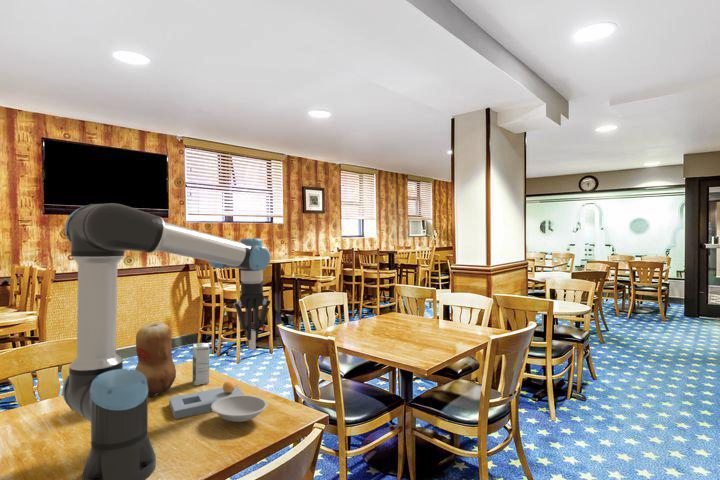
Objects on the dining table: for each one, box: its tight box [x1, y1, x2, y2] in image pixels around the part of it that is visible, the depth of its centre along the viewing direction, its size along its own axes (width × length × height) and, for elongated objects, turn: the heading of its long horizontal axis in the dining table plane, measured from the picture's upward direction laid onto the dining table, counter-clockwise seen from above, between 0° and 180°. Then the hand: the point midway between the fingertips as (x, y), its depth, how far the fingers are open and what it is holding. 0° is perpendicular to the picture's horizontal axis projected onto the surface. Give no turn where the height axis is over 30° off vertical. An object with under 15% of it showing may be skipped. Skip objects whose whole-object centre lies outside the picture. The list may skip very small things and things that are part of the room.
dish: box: [211, 394, 268, 423], centre depth 125 cm, size 18×14×5 cm
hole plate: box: [168, 384, 245, 420], centre depth 137 cm, size 12×22×2 cm, turn 122°
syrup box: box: [192, 342, 210, 387], centre depth 157 cm, size 6×6×14 cm
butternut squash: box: [134, 322, 177, 396], centre depth 145 cm, size 14×13×25 cm
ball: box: [222, 380, 236, 393], centre depth 141 cm, size 4×4×4 cm
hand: (252, 348), depth 145 cm, fingers closed
